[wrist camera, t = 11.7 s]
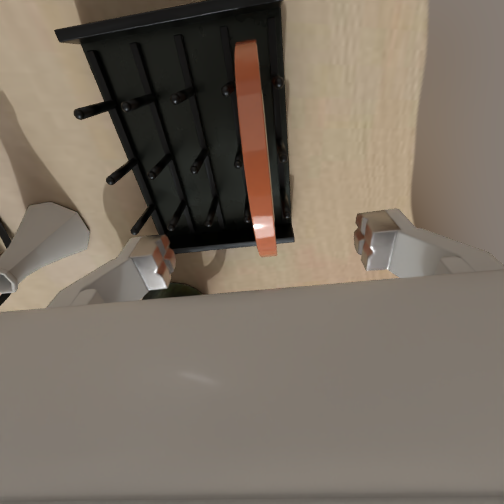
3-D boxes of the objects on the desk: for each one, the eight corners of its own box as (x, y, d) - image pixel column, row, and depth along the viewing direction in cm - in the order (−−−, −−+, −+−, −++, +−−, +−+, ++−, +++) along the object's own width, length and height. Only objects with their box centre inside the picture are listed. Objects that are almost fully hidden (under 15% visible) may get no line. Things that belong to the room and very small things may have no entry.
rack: (84, 34, 21) (20, 24, 16) (278, -3, 20) (287, -28, 14) (164, 237, 33) (145, 273, 27) (290, 223, 32) (298, 259, 26)
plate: (242, 55, 21) (220, 16, 10) (258, 52, 21) (255, 9, 9) (261, 211, 29) (262, 298, 17) (273, 210, 29) (282, 297, 17)
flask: (84, 205, 31) (22, 257, 23) (96, 254, 35) (48, 311, 27) (20, 196, 30) (-68, 245, 22) (40, 246, 34) (-27, 303, 26)
